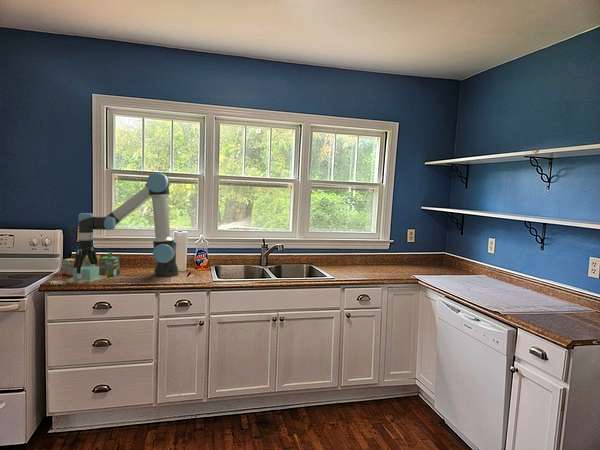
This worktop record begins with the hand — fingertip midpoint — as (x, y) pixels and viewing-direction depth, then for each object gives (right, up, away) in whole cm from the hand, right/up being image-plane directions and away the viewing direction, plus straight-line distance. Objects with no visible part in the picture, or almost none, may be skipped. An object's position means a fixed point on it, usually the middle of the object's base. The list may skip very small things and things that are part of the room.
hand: (86, 277), depth 235 cm
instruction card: (-12, -2, -8) cm, 15 cm away
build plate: (0, -2, 0) cm, 2 cm away
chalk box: (+6, -1, +15) cm, 17 cm away
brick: (0, 0, 0) cm, 0 cm away
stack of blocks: (-12, -1, +17) cm, 20 cm away
